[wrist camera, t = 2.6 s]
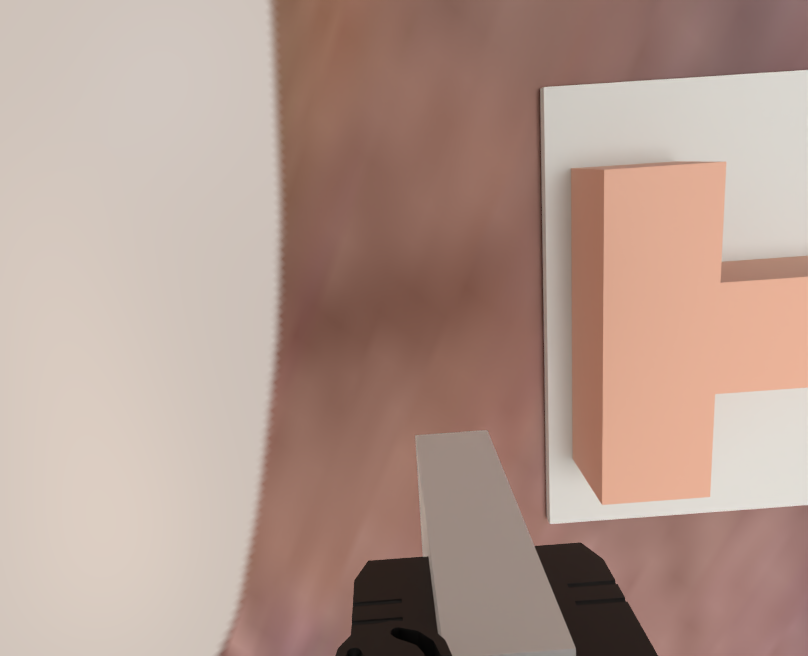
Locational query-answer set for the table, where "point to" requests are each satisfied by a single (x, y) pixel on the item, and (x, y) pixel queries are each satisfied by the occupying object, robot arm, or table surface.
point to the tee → (668, 326)
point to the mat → (742, 240)
